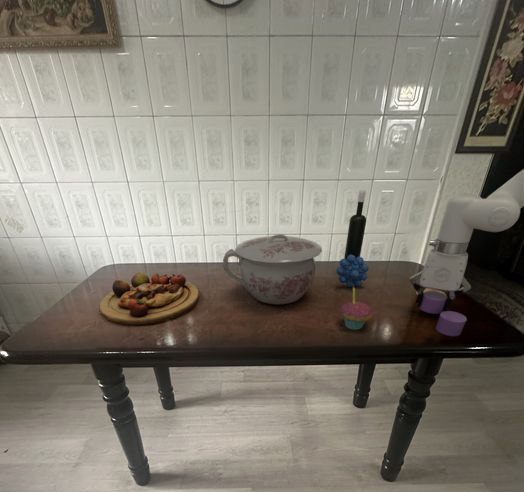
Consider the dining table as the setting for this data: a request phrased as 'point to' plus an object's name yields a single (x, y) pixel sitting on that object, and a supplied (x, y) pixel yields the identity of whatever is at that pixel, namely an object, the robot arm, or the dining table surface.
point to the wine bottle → (356, 229)
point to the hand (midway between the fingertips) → (431, 306)
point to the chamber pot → (275, 267)
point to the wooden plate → (148, 299)
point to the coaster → (430, 290)
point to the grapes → (352, 271)
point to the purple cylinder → (433, 302)
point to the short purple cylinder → (451, 323)
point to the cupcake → (356, 313)
